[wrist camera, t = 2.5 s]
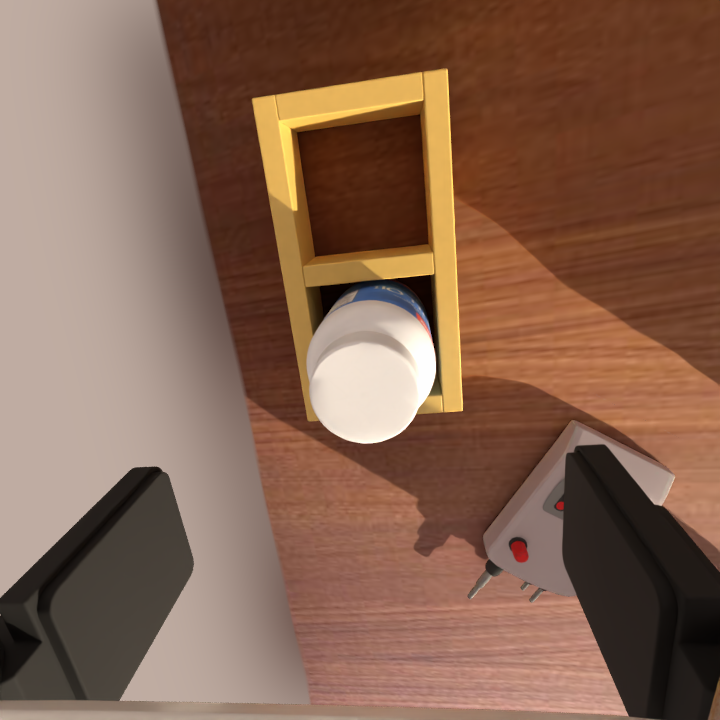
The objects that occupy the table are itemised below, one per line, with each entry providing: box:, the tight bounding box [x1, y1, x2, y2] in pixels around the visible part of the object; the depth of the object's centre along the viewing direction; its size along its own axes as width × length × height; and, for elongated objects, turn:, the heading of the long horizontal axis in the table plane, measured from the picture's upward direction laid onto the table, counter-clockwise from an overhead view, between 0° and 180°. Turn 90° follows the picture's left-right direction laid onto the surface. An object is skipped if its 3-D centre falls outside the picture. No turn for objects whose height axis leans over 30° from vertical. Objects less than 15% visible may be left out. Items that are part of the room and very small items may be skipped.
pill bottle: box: [306, 279, 436, 443], centre depth 20 cm, size 6×5×10 cm
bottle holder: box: [252, 68, 463, 421], centre depth 22 cm, size 8×15×4 cm, turn 7°
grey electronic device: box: [468, 404, 677, 603], centre depth 27 cm, size 7×16×3 cm, turn 154°
